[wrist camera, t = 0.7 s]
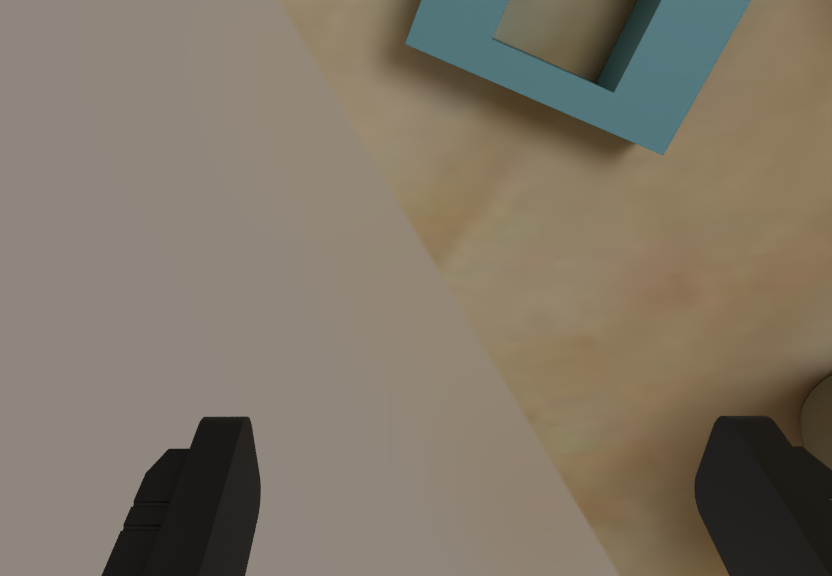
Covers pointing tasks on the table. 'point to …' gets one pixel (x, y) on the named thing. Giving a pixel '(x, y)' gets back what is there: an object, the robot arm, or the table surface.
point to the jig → (622, 74)
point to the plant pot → (818, 422)
